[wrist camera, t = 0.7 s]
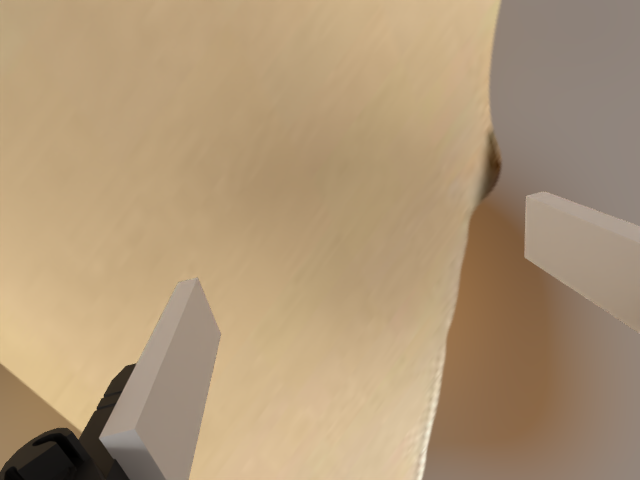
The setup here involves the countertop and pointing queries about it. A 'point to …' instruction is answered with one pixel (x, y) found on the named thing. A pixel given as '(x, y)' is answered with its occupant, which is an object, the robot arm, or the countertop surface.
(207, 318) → the robot arm
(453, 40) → the countertop surface
